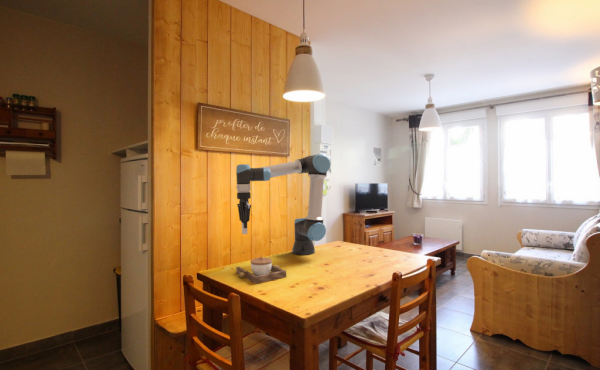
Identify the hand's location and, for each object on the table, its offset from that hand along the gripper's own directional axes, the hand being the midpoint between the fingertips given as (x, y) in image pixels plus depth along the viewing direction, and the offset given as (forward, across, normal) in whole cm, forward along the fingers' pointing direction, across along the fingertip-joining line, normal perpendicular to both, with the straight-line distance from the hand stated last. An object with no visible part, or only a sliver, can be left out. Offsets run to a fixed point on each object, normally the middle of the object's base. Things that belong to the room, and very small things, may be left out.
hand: (244, 233), depth 168 cm
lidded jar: (+19, +19, 0) cm, 27 cm away
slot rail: (+19, +18, 0) cm, 26 cm away
